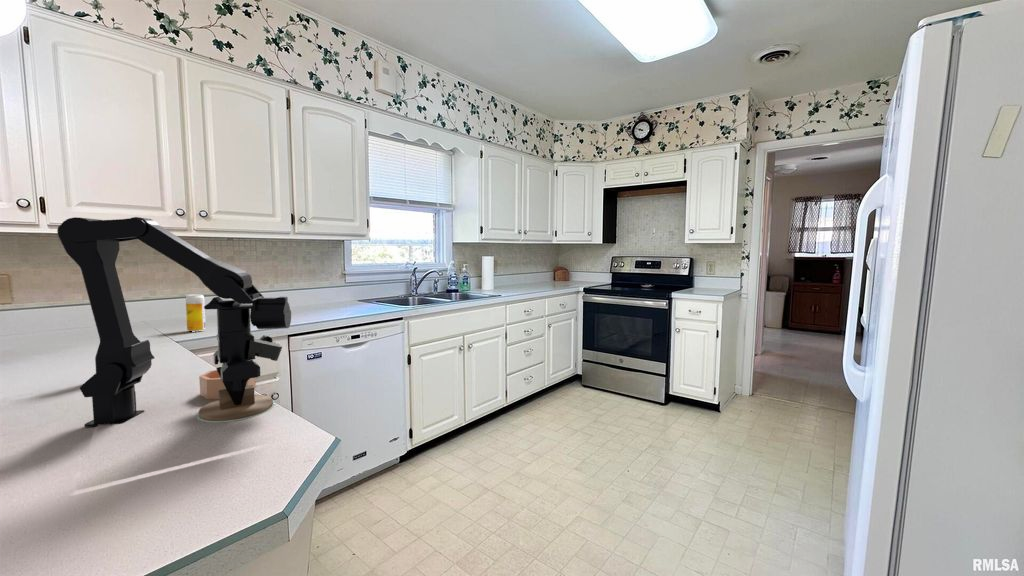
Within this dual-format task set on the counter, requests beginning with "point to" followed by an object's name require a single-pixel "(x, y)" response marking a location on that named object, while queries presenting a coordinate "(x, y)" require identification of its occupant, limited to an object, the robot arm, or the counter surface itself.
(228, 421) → the sage mat
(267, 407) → the walnut lid
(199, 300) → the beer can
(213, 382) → the terracotta bowl
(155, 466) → the counter surface
